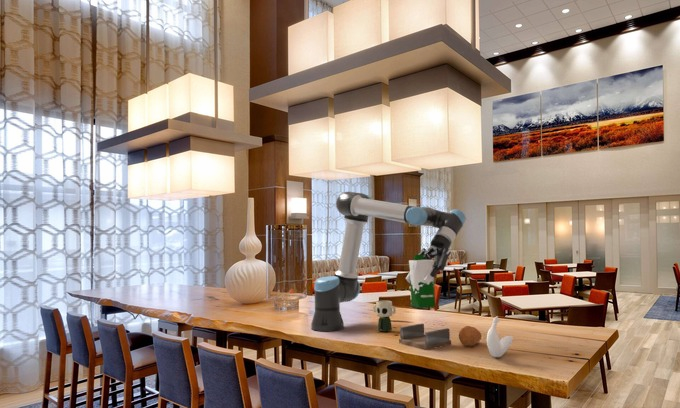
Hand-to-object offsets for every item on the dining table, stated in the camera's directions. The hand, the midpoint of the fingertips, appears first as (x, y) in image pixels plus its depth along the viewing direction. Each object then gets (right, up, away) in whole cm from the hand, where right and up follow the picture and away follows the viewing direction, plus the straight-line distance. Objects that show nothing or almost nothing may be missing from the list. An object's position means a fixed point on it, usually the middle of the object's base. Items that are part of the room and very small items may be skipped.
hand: (416, 281), depth 168 cm
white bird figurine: (+25, -22, -21) cm, 39 cm away
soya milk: (+3, -10, +1) cm, 11 cm away
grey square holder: (+3, -24, 0) cm, 24 cm away
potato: (+20, -24, -3) cm, 31 cm away
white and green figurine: (-10, -27, +25) cm, 38 cm away
